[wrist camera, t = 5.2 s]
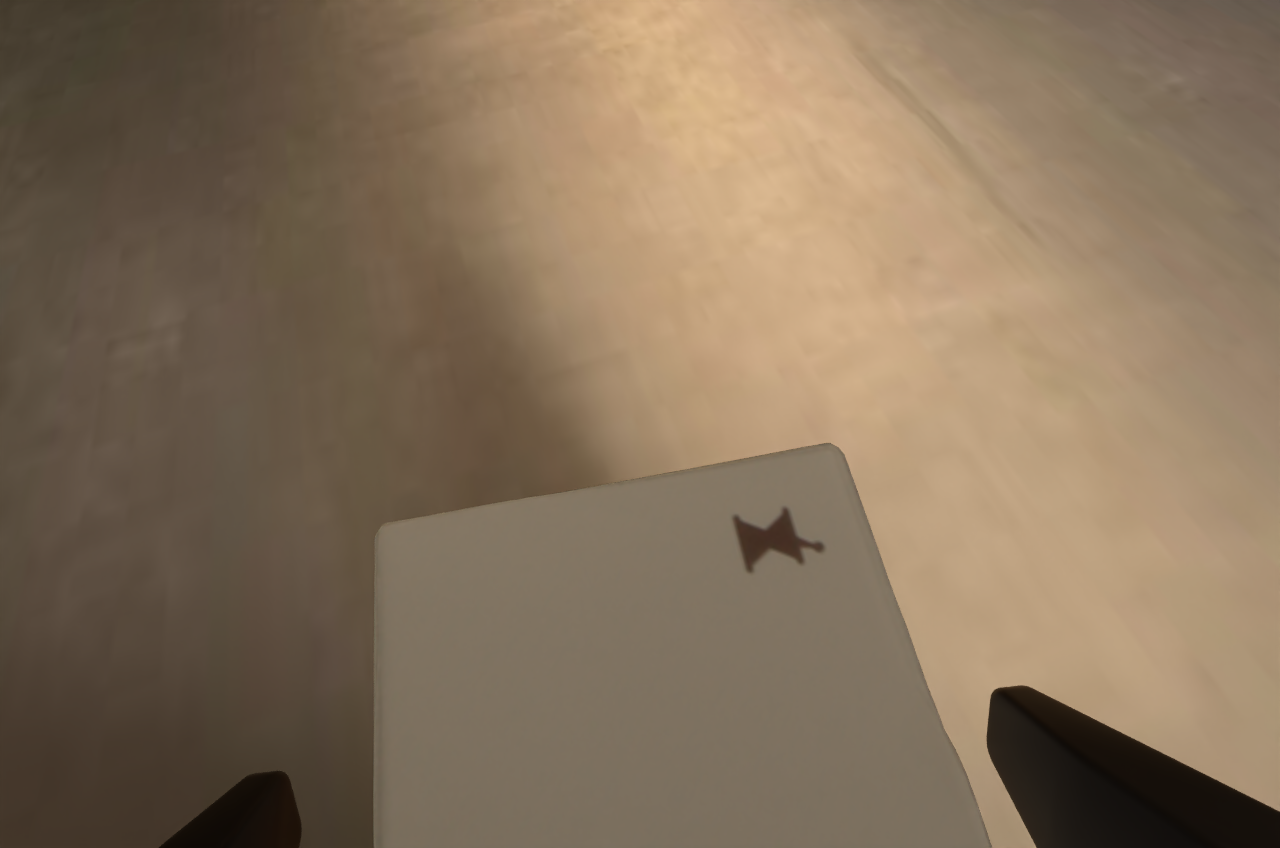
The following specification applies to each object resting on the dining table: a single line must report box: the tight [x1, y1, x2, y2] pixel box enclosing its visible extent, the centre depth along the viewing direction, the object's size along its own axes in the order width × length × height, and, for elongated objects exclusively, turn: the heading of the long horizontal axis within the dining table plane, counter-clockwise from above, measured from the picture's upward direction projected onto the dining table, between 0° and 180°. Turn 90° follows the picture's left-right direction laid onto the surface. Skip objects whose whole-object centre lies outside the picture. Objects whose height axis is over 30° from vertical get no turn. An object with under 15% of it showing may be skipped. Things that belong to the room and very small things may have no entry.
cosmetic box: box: [373, 443, 992, 848], centre depth 10 cm, size 6×4×12 cm
